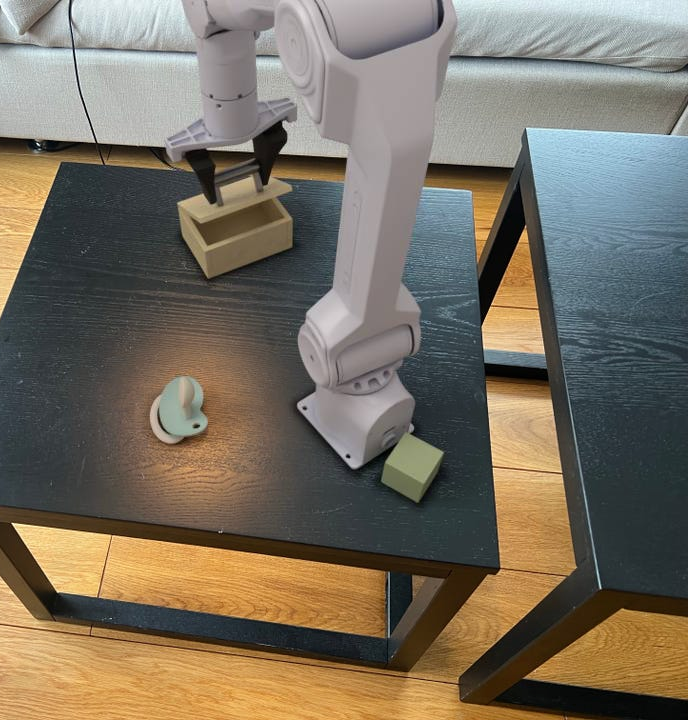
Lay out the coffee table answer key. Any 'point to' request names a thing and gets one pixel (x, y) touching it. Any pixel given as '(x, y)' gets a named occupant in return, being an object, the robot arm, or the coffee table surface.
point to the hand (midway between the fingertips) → (236, 189)
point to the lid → (234, 192)
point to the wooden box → (238, 236)
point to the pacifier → (178, 410)
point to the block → (411, 467)
